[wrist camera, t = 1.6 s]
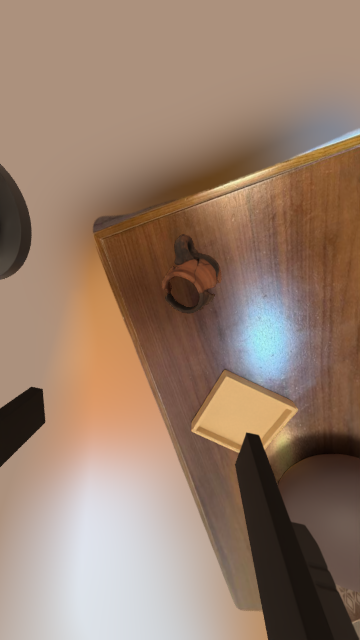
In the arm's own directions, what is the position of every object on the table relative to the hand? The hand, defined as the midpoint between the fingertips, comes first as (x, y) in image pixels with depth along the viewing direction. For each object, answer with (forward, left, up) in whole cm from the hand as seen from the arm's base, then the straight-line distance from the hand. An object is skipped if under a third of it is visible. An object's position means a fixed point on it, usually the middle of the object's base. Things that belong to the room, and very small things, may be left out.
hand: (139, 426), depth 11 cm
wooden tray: (+20, -13, -24) cm, 34 cm away
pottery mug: (-2, +9, -24) cm, 26 cm away
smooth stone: (+44, -19, -24) cm, 54 cm away
